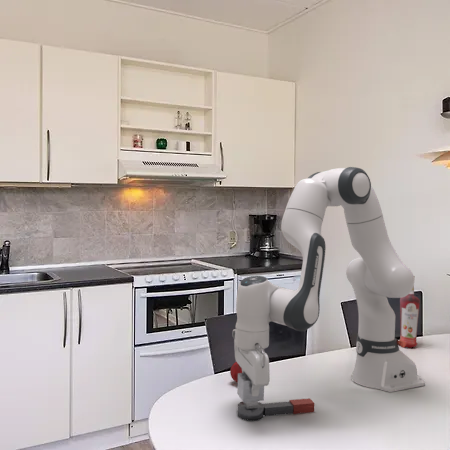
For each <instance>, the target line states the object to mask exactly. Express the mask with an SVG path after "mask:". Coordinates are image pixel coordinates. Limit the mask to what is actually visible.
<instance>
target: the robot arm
mask: <svg viewBox="0 0 450 450" xmlns="http://www.w3.org/2000/svg"><path fill="white" fill-rule="evenodd" d="M291 192H292V193H291V194H290V196H289V198H288V201H287V203H286V207H285V210H284V213H283V215H282V219H281V223H280V224H281V225H280V230H281V232H282V236H283V237H284V239H285V240H286V241H287V243H289V244H291V246H293V247H294V248H295V249H297V250H298V251H299V252H300V253H301V255H302V266H301V272H300V278H299V283H298V287H297V289H296V290H295V289H289V288H286V287H282V286H279V285H276V284H274V283H272V282H270V280H268V277H265V276H263V275H252V276H247V277H243V278H242V279H241V280H240V282H239V284H238V286H237V287H238V288H237V292H236V299H235V300H236V301H235V302H236V303H235V312H236V316H237V319H236V323H235V329H233V330H232V338H233V339H234V340H233V343H234V344H233V346H234V347H233V349H234V359H235V362H237V363H238V364H239V366H240V367H241V368H242V373H246V374H247V376H248V377H249V378H250V379H251V381H252V388H251V395H252V396H253V397H254V396H258V395H259V388H260V386H264V387H267V386H268V385H270V379H271V377H270V375H271V373H270V371H271V370H270V359H269V355H268V353H266V352H265V349H267V348H268V347H269V345H270V325H269V324H270V322H273V323H276V324H279V325H282V326H287V327H288V328H290V329H292V330H295V331H297V332H306V331H307V330H309V329H310V328H312V327H313V326H314V325H315V324H316V323H317V321H318V319H319V316H320V295H321V288H322V287H321V286H322V280H323V275H324V274H323V273H324V265H325V257H326V248H327V247H326V246H327V245H326V241H325V238H324V236H322V225H323V223H324V218H325V213H326V209H327V207H340V206H341V207H342V208H343V213H344V217H345V222H346V225H347V226H346V227H347V230H348V235H349V238H350V242H351V245H352V247H353V249H354V250H355V251H356V252H357V253H358V254H359V256H360V257H356V258H355V257H354V258H353V259H352V260H351V261H350V262H349V263H348V265H347V267H346V271H345V272H346V274H345V275H346V278H347V281H348V282H349V283H350V284H351V287H352V290H353V291H354V295H355V296H354V297H355V300H356V304H357V311H358V328H357V329H358V333H357V335H356V343H355V344H356V346H355V347H356V348H355V350H356V357H355V363H354V367H353V372H352V375H351V380H352V381H353V382H354V383H356V384H358V385H360V386H362V387H363V386H364V387H367V388H369V389H370V388H371V389H376V390H382V391H384V392H389V393H392V392H397V391H401V390H402V391H403V390H407V389H413V388H417V387H423V386H425V385H426V382H425V379H424V378H423V377H421V376H420V375H419V374H418V369H417V368H418V367H417V365H416V363H415V362H414V361H413V359H412V358H410V357H409V356H408V355H407V354H405V352H403V351H402V350H400V347H401V348H402V349H403V348H406V347H405V346H406V344H405V341H402V340H400V339H398V338H396V337H395V335H396V334H395V333H396V332H395V331H396V314H395V311H394V310H393V308H392V307H391V305H390V303H389V300H388V298H389V299H391V298H392V299H400V298H402V297H405V296H407V295H408V294H409V293H410V292H411V291H412V289H413V286H415V277H414V276H415V275H414V273H413V271H412V270H411V269H410V268H409V267H408V266H407V265H406V264H404V262H403V261H402V259H401V257H399V255H398V253H397V252H396V250H395V248H394V246H393V244H392V241H391V240H390V237H389V235H388V230H387V227H386V223H385V218H384V215H383V212H382V208H381V204H380V202H379V199H378V197H377V193H376V192H375V190H374V188H373V186H372V182H371V178H370V177H369V175H368V173H367V172H366V171H365V170H364V169H362V168H359V167H354V166H348V167H337V168H331V169H328V170H325V171H324V170H323V171H316V172H315V173H312V174H310V175H309V176H308V177H307V178H303V179H301V180H299V181H298V182H297V183H296V185H295V187H294V188H293V190H292V191H291Z"/></svg>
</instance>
